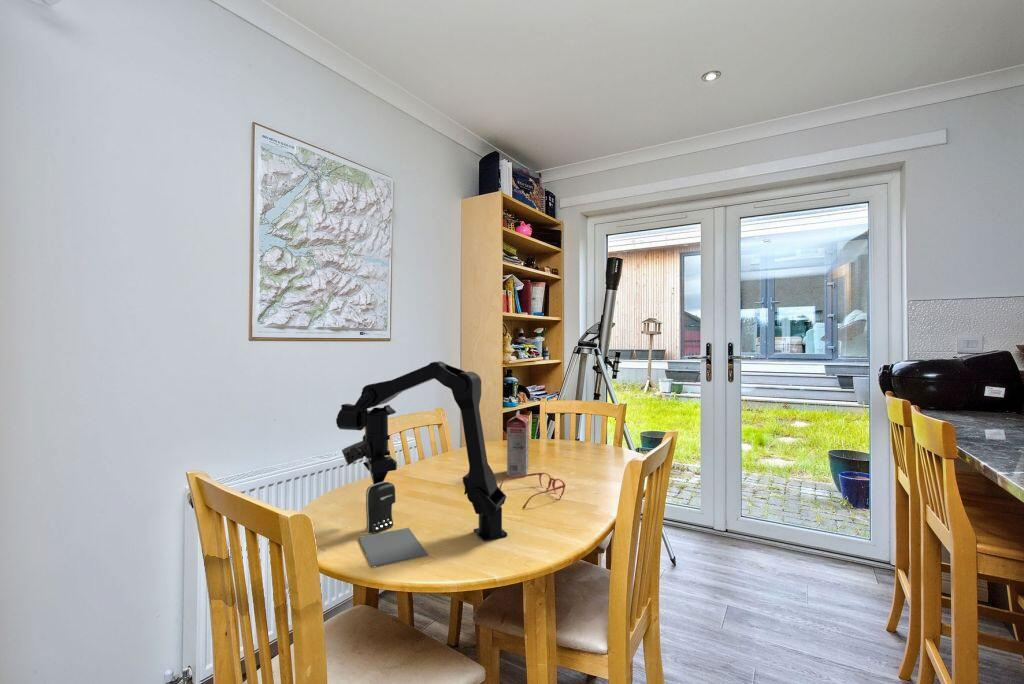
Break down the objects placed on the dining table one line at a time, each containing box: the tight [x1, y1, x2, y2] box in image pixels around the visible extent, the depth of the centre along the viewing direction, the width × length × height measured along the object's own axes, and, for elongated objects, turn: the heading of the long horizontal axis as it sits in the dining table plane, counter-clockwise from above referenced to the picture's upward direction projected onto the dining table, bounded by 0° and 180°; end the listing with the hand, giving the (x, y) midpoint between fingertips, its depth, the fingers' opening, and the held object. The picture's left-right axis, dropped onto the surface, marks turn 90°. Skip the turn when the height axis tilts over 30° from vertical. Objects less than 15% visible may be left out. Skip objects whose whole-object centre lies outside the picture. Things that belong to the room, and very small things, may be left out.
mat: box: [358, 527, 429, 568], centre depth 108 cm, size 16×12×1 cm
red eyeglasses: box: [498, 472, 566, 508], centre depth 143 cm, size 17×16×5 cm
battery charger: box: [365, 480, 396, 534], centre depth 118 cm, size 7×4×11 cm, turn 144°
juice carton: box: [506, 409, 529, 477], centre depth 166 cm, size 7×7×22 cm
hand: (377, 490), depth 123 cm, fingers closed
